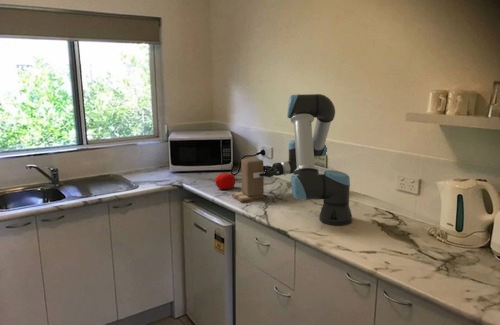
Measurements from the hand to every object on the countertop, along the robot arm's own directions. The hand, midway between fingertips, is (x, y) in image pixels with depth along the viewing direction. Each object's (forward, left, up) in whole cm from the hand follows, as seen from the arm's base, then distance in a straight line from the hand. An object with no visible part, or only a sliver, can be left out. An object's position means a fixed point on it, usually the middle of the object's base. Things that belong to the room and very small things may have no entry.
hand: (248, 173), depth 217 cm
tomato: (+25, +4, -15) cm, 29 cm away
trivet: (0, 0, -15) cm, 15 cm away
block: (0, -3, -13) cm, 13 cm away
